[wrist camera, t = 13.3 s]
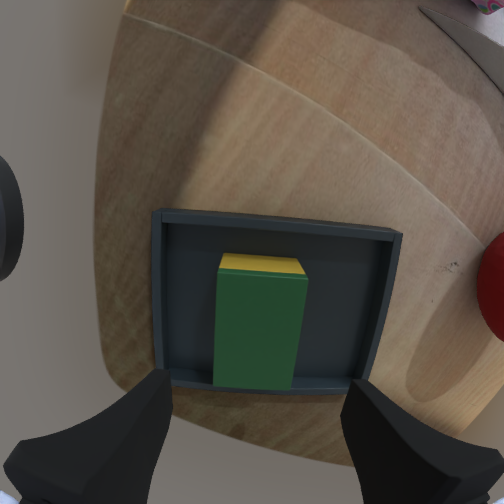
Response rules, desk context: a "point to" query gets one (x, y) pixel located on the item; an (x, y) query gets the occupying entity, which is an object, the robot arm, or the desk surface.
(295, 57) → the desk surface
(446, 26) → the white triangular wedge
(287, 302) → the sponge
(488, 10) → the pencil case
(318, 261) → the tray
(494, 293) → the apple
